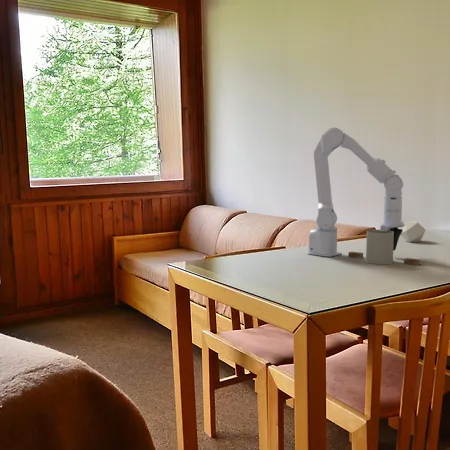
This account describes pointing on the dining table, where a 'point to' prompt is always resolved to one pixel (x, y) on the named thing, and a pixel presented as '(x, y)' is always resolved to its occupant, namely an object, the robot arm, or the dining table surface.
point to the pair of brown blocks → (406, 260)
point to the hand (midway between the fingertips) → (391, 250)
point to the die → (413, 231)
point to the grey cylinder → (379, 247)
